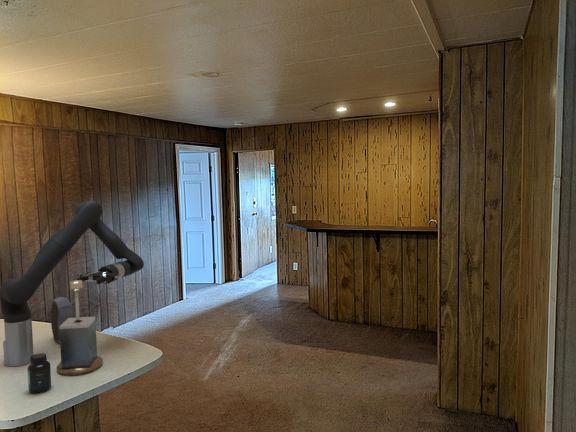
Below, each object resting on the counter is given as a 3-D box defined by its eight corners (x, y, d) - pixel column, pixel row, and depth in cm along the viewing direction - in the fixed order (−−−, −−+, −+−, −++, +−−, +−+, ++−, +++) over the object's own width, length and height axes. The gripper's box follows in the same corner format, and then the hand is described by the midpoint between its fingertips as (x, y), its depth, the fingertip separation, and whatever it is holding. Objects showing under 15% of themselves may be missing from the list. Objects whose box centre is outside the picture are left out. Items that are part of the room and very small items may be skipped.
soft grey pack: (50, 338, 201) (48, 295, 199) (70, 333, 206) (68, 291, 204) (60, 347, 189) (57, 301, 188) (80, 342, 195) (78, 298, 193)
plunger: (66, 343, 165) (63, 283, 163) (72, 336, 171) (69, 279, 169) (85, 341, 166) (82, 283, 164) (90, 335, 172) (88, 279, 170)
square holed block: (50, 377, 160) (47, 329, 159) (65, 359, 176) (62, 316, 174) (96, 374, 163) (94, 327, 161) (107, 357, 178) (105, 313, 177)
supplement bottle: (26, 395, 147) (24, 360, 146) (31, 386, 154) (29, 353, 153) (48, 392, 149) (46, 358, 148) (53, 383, 156) (51, 350, 155)
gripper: (96, 263, 190) (71, 271, 174) (126, 264, 187) (103, 272, 172) (96, 280, 191) (71, 289, 175) (126, 282, 188) (104, 291, 172)
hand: (87, 281), depth 173 cm, fingers open, 8 cm apart
